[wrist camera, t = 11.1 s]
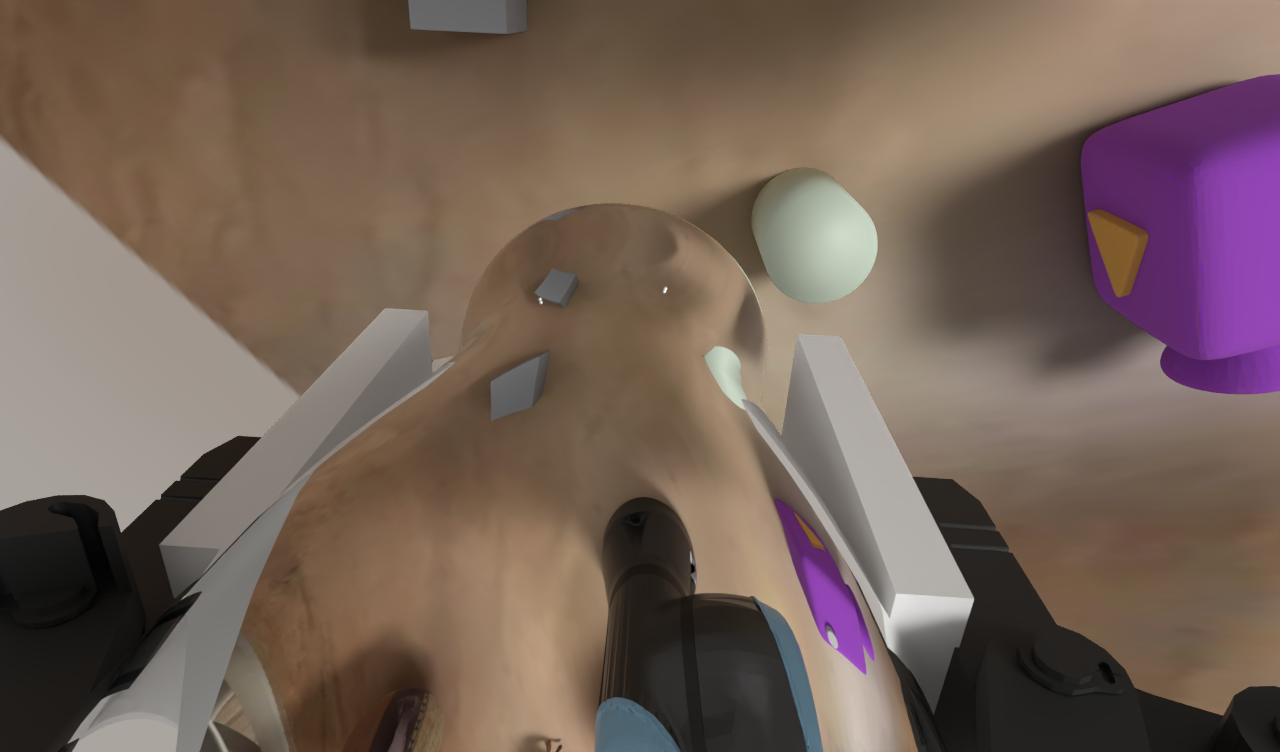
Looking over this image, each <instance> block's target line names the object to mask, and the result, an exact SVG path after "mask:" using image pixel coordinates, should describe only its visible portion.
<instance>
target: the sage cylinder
mask: <svg viewBox="0 0 1280 752" xmlns="http://www.w3.org/2000/svg"><path fill="white" fill-rule="evenodd" d="M751 226H752V231H753V234H754V237H755V240H756V243H757V245H758V248H759V251H760V254H761V257H762V259H763V262H764V265H765V268H766V270H767V273H768V275H769V277H770V279H771V281H772V282H773V283H774V285H775V286H776V287H777V288H778V289H779V290H780V291H781V292H782V293H784V294H785V295H787V296H788V297H790V298H792V299H795V300H797V301H801V302H805V303H827V302H831V301H834V300H837V299H840V298H842V297H844V296H846V295H848V294H849V293H851V292H852V291H854V290H855V289H856V288H857V287H858V286H859V285H860V284H861V283H862V282H863V281H864V280H865V278H866V277H867V276H868V274H869V273H870V271H871V269H872V267H873V264H874V262H875V259H876V255H877V248H878V239H877V233H876V229H875V226H874V224H873V222H872V220H871V218H870V217H869V215H868V214H867V212H866V211H865V210H864V209H863V208H862V207H861V206H860V205H859V204H858V203H857V202H856V201H855V200H854V199H853V198H852V196H851V195H850V194H849V193H848V192H847V191H846V190H845V189H844V188H843V187H842V186H841V185H840V184H839V183H838V182H837V181H836V180H835V179H834V178H833V177H832V176H830V175H828V174H827V173H825V172H823V171H820V170H817V169H813V168H795V169H791V170H787V171H785V172H782V173H780V174H779V175H777V176H775V177H774V178H772V179H771V180H770V181H769V182H768V183H767V184H766V185H765V186H764V187H763V188H762V189H761V191H760V192H759V194H758V195H757V197H756V200H755V202H754V205H753V208H752V213H751Z"/></svg>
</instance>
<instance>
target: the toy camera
mask: <svg viewBox="0 0 1280 752" xmlns="http://www.w3.org/2000/svg"><path fill="white" fill-rule="evenodd" d="M1081 175H1082V185H1083V195H1084V205H1085V214H1086V223H1087V232H1088V241H1089V249H1090V258H1091V267H1092V274H1093V279H1094V284H1095V287H1096V290H1097V292H1098V294H1099V296H1100V297H1101V298H1102V299H1103V300H1104V301H1105V302H1106V303H1107V304H1108V305H1109V306H1111V307H1112V308H1113V309H1114V310H1116V311H1117V312H1118V313H1120V314H1121V315H1123V316H1124V317H1125V318H1127V319H1128V320H1130V321H1131V322H1132V323H1134V324H1135V325H1137V326H1138V327H1140V328H1141V329H1143V330H1144V331H1146V332H1147V333H1149V334H1150V335H1152V336H1153V337H1155V338H1156V339H1158V340H1160V341H1161V342H1163V343H1164V344H1166V345H1167V347H1166V348H1165V349H1164V351H1163V353H1162V356H1161V360H1160V364H1161V368H1162V370H1163V372H1164V373H1165V374H1166V375H1167V376H1168V377H1169V378H1170V379H1172V380H1174V381H1175V382H1177V383H1180V384H1182V385H1185V386H1188V387H1191V388H1194V389H1198V390H1203V391H1209V392H1215V393H1225V394H1259V393H1269V392H1276V391H1280V74H1278V75H1266V76H1260V77H1256V78H1252V79H1248V80H1245V81H1241V82H1238V83H1235V84H1232V85H1228V86H1225V87H1222V88H1219V89H1216V90H1213V91H1210V92H1207V93H1204V94H1201V95H1198V96H1195V97H1192V98H1189V99H1186V100H1183V101H1180V102H1176V103H1173V104H1170V105H1167V106H1164V107H1161V108H1158V109H1155V110H1152V111H1149V112H1146V113H1143V114H1140V115H1137V116H1134V117H1131V118H1128V119H1126V120H1123V121H1120V122H1117V123H1115V124H1112V125H1110V126H1107V127H1105V128H1103V129H1101V130H1099V131H1097V132H1096V133H1094V134H1093V135H1091V136H1090V137H1089V138H1088V139H1087V140H1086V142H1085V143H1084V146H1083V149H1082V155H1081Z"/></svg>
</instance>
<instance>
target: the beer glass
mask: <svg viewBox="0 0 1280 752" xmlns="http://www.w3.org/2000/svg"><path fill="white" fill-rule="evenodd" d="M767 364H768V339H767V331H766V325H765V320H764V315H763V311H762V308H761V305H760V302H759V299H758V297H757V294H756V292H755V290H754V288H753V286H752V284H751V282H750V280H749V279H748V277H747V275H746V274H745V272H744V271H743V269H742V268H741V267H740V265H739V264H738V263H737V261H736V260H735V259H734V258H733V257H732V256H731V254H730V253H729V252H728V251H727V250H726V249H725V248H724V247H723V246H722V245H720V244H719V243H718V242H717V241H716V240H715V239H713V238H712V237H711V236H710V235H708V234H707V233H705V232H704V231H703V230H701V229H699V228H698V227H696V226H694V225H693V224H691V223H689V222H687V221H685V220H683V219H681V218H679V217H677V216H675V215H672V214H669V213H667V212H664V211H661V210H657V209H654V208H650V207H645V206H640V205H633V204H623V203H600V204H591V205H584V206H579V207H574V208H570V209H567V210H563V211H560V212H557V213H555V214H552V215H550V216H547V217H545V218H543V219H541V220H539V221H537V222H536V223H534V224H532V225H531V226H529V227H528V228H526V229H525V230H523V231H522V232H521V233H519V234H518V235H517V236H515V237H514V238H513V239H512V240H511V241H509V242H508V243H507V244H506V245H505V246H504V247H503V248H502V249H501V250H500V251H499V252H498V253H497V254H496V256H495V257H494V258H493V259H492V260H491V262H490V263H489V264H488V266H487V267H486V269H485V270H484V272H483V273H482V275H481V277H480V279H479V281H478V282H477V284H476V286H475V288H474V291H473V293H472V295H471V298H470V301H469V304H468V307H467V311H466V314H465V319H464V323H463V328H462V333H461V339H460V345H459V351H458V354H456V355H455V356H454V357H453V358H451V359H450V360H449V361H448V362H446V363H445V364H444V365H443V366H441V367H440V368H439V369H437V370H436V371H434V372H433V373H432V374H430V375H429V376H428V377H426V378H425V379H424V380H422V381H421V382H419V383H418V384H417V385H415V386H414V387H413V388H411V389H410V390H408V391H407V392H406V393H404V394H403V395H402V396H400V397H399V398H398V399H396V400H395V401H394V402H393V403H391V404H390V405H389V406H387V407H386V408H385V409H383V410H382V411H381V412H380V413H378V414H377V415H376V416H374V417H373V418H372V419H371V420H369V421H368V422H367V423H365V424H364V425H363V426H361V427H360V428H359V429H358V430H356V431H355V432H354V433H352V434H351V435H350V436H349V437H347V438H346V439H345V440H343V441H342V442H341V443H339V444H338V445H337V446H336V447H334V448H333V449H332V450H330V451H329V452H328V453H327V454H326V455H325V456H323V457H322V458H321V459H320V460H319V461H318V462H317V463H316V464H314V465H313V466H312V467H311V468H310V469H309V470H308V471H307V472H305V473H304V474H303V475H302V476H301V477H300V478H299V479H298V480H297V481H295V482H294V483H293V484H292V485H291V486H290V487H289V488H288V489H286V490H285V491H284V492H283V493H282V494H281V495H280V496H279V497H277V498H276V499H275V500H274V501H273V502H272V503H271V504H270V505H269V506H267V507H266V508H265V509H264V510H263V511H262V512H261V513H260V514H258V515H257V516H256V517H255V518H254V519H253V520H252V521H251V522H249V523H248V524H247V525H246V526H245V527H244V528H243V529H242V530H241V531H239V532H238V533H237V534H236V535H235V536H234V537H233V538H232V539H231V540H229V541H228V542H227V543H226V544H225V545H224V546H223V547H222V548H221V549H220V550H219V551H218V552H217V553H216V555H215V556H214V557H213V558H212V559H211V560H210V561H209V562H208V563H207V564H206V566H205V567H204V568H203V569H202V570H201V571H200V572H199V573H198V574H197V575H196V577H195V578H194V579H193V580H192V581H191V582H190V583H189V584H188V585H187V587H186V588H185V589H184V590H183V591H182V592H181V593H180V594H179V595H178V596H177V598H176V599H175V600H174V601H173V602H172V603H171V604H170V605H169V606H168V607H167V609H166V610H165V611H164V612H163V613H162V614H161V615H160V616H159V617H158V618H157V620H156V621H155V622H154V623H153V624H152V625H151V626H150V627H149V628H148V630H147V631H146V632H145V633H144V634H143V635H142V636H141V637H140V638H139V639H138V641H137V642H136V643H135V644H134V645H133V646H132V647H131V648H130V649H129V650H128V652H127V653H126V654H125V655H124V656H123V657H122V658H121V659H120V660H119V662H118V663H117V664H116V665H115V666H114V667H113V668H112V669H111V670H110V671H109V673H108V674H107V675H106V676H105V677H104V678H103V679H102V680H101V681H100V682H99V684H98V685H97V686H96V687H95V688H94V689H93V690H92V692H91V693H90V694H89V695H88V696H87V697H86V699H85V700H84V701H83V702H82V704H81V705H80V706H79V707H78V709H77V710H76V711H75V712H74V714H73V715H72V716H71V717H70V719H69V720H68V721H67V722H66V724H65V725H64V726H63V727H62V729H61V730H60V731H59V732H58V734H57V735H56V736H55V737H54V739H53V740H52V741H51V742H50V744H49V745H48V746H47V747H46V748H45V750H44V751H43V752H948V750H947V747H946V745H945V742H944V740H943V737H942V735H941V732H940V730H939V727H938V725H937V723H936V720H935V718H934V715H933V713H932V710H931V708H930V705H929V703H928V700H927V698H926V695H925V693H924V691H923V688H922V686H921V683H920V681H919V678H918V676H917V673H916V671H915V668H914V666H913V664H912V661H911V659H910V657H909V655H908V653H907V651H906V649H905V647H904V645H903V643H902V641H901V639H900V637H899V635H898V633H897V632H896V630H895V628H894V626H893V624H892V622H891V620H890V618H889V617H888V615H887V613H886V611H885V609H884V607H883V605H882V604H881V602H880V600H879V598H878V596H877V594H876V592H875V590H874V589H873V587H872V585H871V583H870V581H869V579H868V577H867V576H866V574H865V572H864V570H863V568H862V566H861V564H860V563H859V561H858V559H857V557H856V555H855V553H854V551H853V549H852V548H851V546H850V544H849V542H848V540H847V539H846V537H845V535H844V534H843V532H842V530H841V529H840V527H839V526H838V524H837V522H836V521H835V519H834V518H833V516H832V514H831V513H830V511H829V510H828V508H827V507H826V505H825V503H824V502H823V500H822V499H821V497H820V495H819V494H818V492H817V491H816V489H815V488H814V486H813V484H812V483H811V481H810V480H809V478H808V476H807V475H806V473H805V472H804V470H803V469H802V467H801V465H800V464H799V462H798V461H797V459H796V458H795V456H794V455H793V453H792V452H791V450H790V449H789V447H788V446H787V444H786V443H785V441H784V440H783V438H782V437H781V435H780V434H779V432H778V431H777V429H776V428H775V426H774V425H773V423H772V421H771V420H770V418H769V416H768V414H767V413H766V411H765V409H764V408H763V406H762V398H763V393H764V387H765V380H766V374H767Z"/></svg>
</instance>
